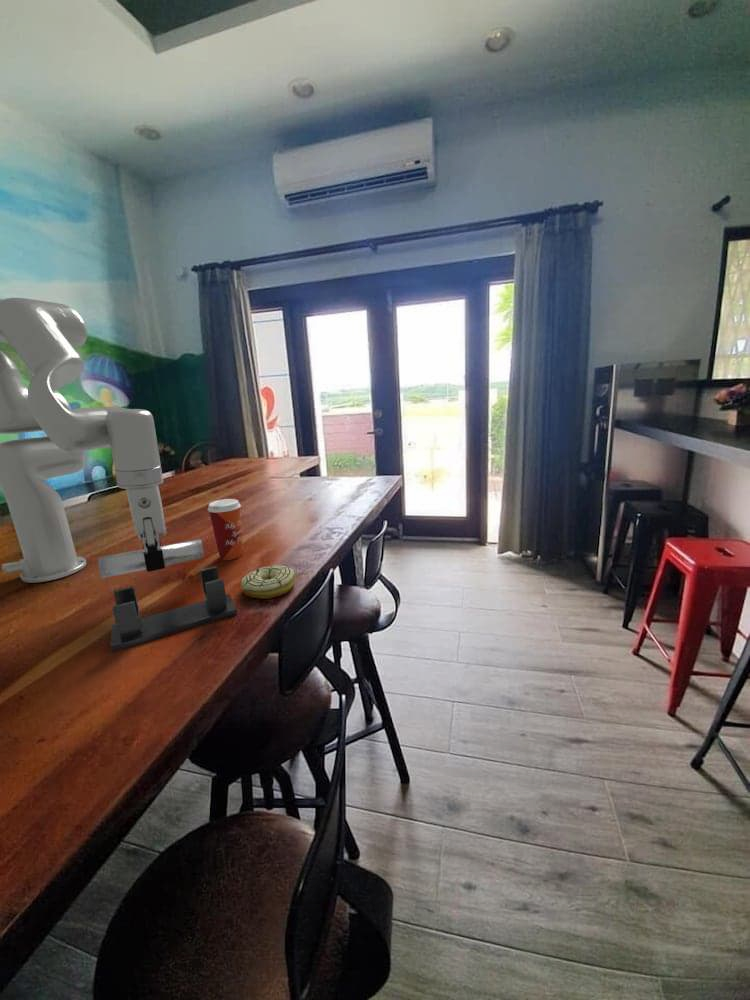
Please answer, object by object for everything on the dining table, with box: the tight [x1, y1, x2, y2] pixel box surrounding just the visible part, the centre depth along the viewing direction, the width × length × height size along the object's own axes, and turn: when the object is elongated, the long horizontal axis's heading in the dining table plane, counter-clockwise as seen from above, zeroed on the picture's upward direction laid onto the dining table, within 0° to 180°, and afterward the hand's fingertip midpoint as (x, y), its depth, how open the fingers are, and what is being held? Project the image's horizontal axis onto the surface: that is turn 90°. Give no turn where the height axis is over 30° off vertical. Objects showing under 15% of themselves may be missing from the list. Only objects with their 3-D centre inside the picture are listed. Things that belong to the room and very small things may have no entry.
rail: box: [97, 538, 205, 579], centre depth 81 cm, size 18×4×4 cm, turn 120°
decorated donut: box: [240, 564, 296, 600], centre depth 84 cm, size 10×11×4 cm
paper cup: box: [207, 498, 244, 561], centre depth 101 cm, size 8×8×14 cm
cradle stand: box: [109, 565, 238, 653], centre depth 73 cm, size 20×7×8 cm, turn 120°
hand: (155, 564), depth 82 cm, fingers closed on rail, 4 cm apart
